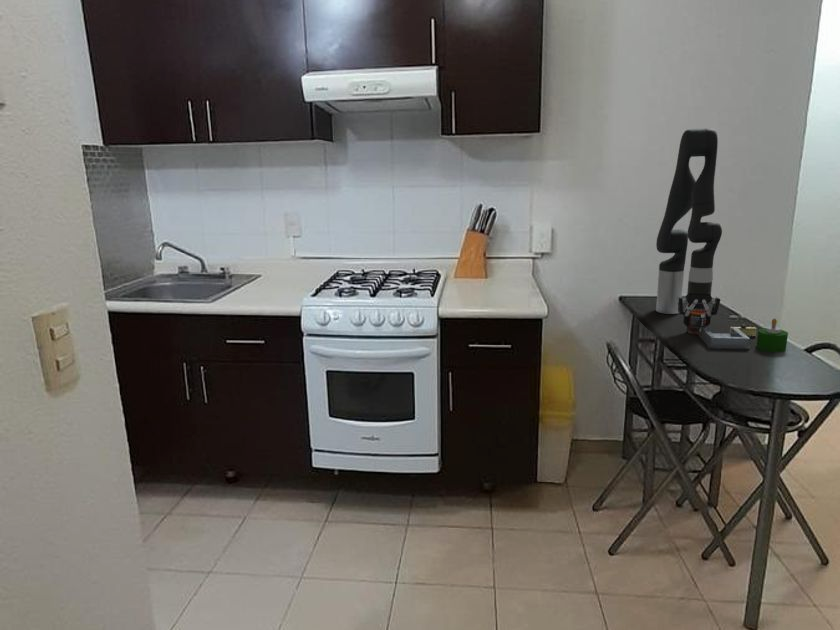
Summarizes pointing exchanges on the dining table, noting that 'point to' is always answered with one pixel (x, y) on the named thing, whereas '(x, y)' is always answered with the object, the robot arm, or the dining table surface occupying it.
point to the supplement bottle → (697, 319)
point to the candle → (772, 338)
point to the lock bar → (746, 330)
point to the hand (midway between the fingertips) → (696, 325)
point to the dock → (725, 339)
